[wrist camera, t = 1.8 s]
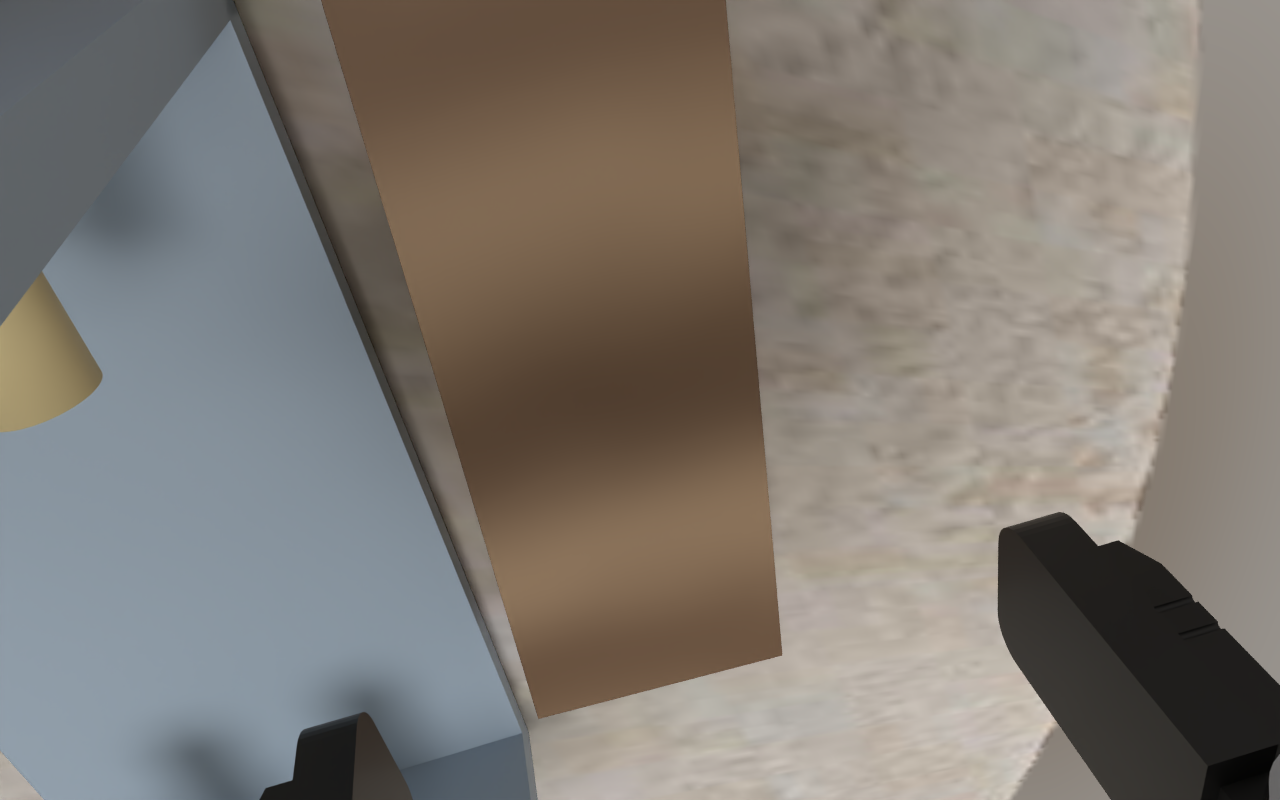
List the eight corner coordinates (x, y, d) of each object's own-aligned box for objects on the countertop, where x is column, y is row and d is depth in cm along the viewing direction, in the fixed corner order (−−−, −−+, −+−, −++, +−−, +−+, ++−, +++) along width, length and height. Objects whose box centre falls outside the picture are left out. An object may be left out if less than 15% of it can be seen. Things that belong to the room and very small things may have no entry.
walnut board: (333, -57, 16) (315, -18, 13) (655, -116, 17) (717, -92, 13) (520, 592, 24) (538, 719, 21) (731, 539, 25) (782, 655, 22)
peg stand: (-508, 118, 15) (-2385, 792, 5) (211, -55, 16) (-129, 221, 6) (125, 853, 26) (-49, 1522, 16) (528, 732, 27) (604, 1297, 17)
